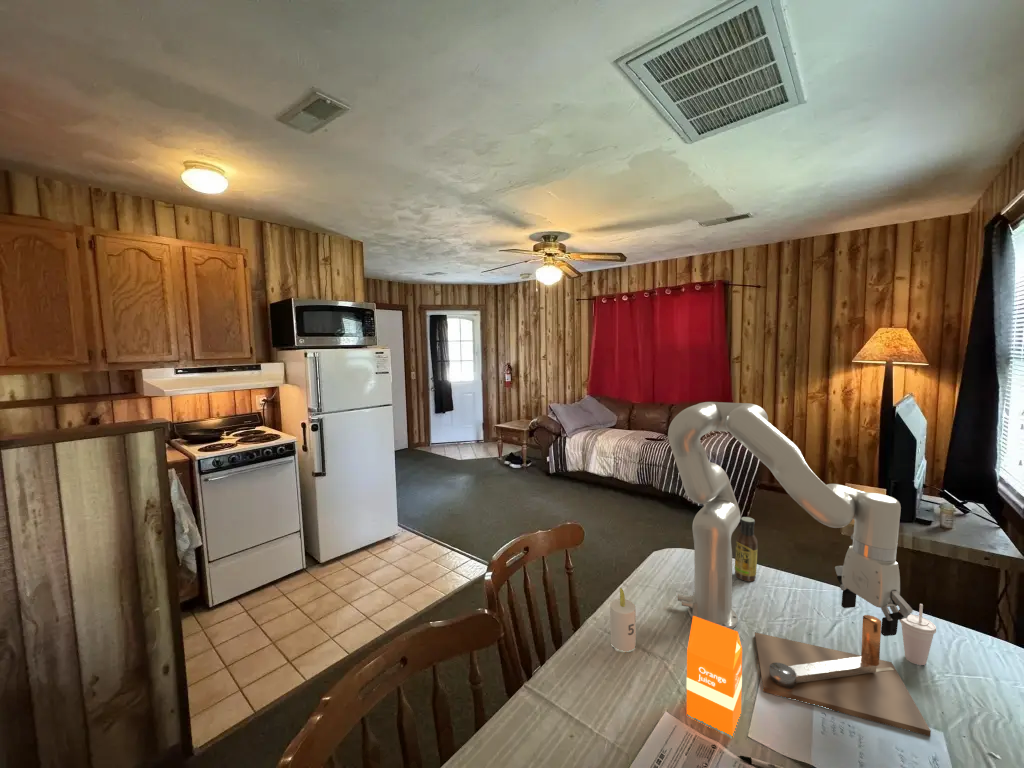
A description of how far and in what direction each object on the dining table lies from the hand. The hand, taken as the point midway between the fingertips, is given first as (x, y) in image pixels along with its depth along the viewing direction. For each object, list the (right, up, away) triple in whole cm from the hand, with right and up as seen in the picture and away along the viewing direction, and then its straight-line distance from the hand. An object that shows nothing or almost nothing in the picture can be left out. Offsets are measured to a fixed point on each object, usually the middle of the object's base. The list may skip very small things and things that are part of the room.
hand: (867, 620), depth 98 cm
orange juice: (-39, -15, -9) cm, 43 cm away
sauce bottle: (-5, -9, +42) cm, 43 cm away
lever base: (-9, -13, -1) cm, 16 cm away
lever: (-10, -12, -1) cm, 16 cm away
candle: (-53, -13, +12) cm, 56 cm away
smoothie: (+15, -12, +4) cm, 20 cm away
